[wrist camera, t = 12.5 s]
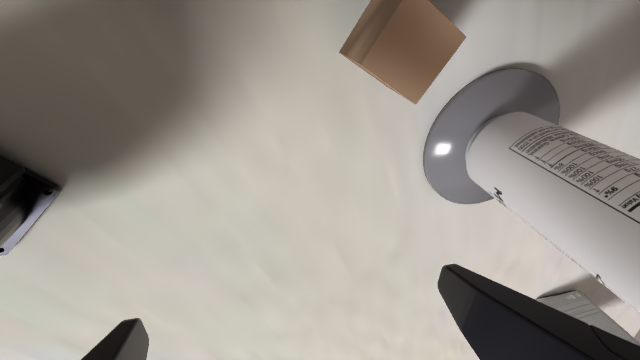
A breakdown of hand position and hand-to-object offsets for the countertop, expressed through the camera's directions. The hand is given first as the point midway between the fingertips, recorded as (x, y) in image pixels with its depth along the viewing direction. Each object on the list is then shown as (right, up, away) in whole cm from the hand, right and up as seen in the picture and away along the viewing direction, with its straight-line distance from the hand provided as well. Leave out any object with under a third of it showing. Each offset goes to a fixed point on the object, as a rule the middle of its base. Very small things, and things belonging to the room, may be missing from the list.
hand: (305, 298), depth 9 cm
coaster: (+14, +6, +15) cm, 21 cm away
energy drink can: (+14, +6, +15) cm, 21 cm away
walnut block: (+4, +12, +10) cm, 16 cm away
